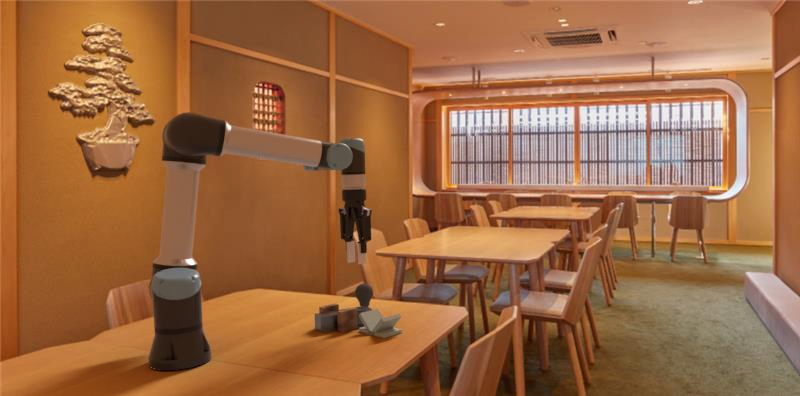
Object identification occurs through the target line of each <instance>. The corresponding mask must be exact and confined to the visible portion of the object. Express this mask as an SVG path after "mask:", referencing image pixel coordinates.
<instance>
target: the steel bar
mask: <svg viewBox="0 0 800 396" xmlns="http://www.w3.org/2000/svg"><path fill="white" fill-rule="evenodd" d="M349 308H350V307H349ZM349 308H347V309H349ZM354 308H356V309H357V322H358V327H362V326H363V327H365V326H364V324H363V323H362V321H361V319H360V318H359V316H358V315H359V314H360V313H362V312H367V311H371V310H373V308H370V307H369V306H368V307H367V306H356V307H354ZM345 309H346V308H343V309H339V310H335V311H329V312H322V313H319V312H317V313H314V327H315V328H314V330H316V331H318V332H319V333H327V332H333V331H338V320H337V311H341V310H345Z"/></svg>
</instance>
